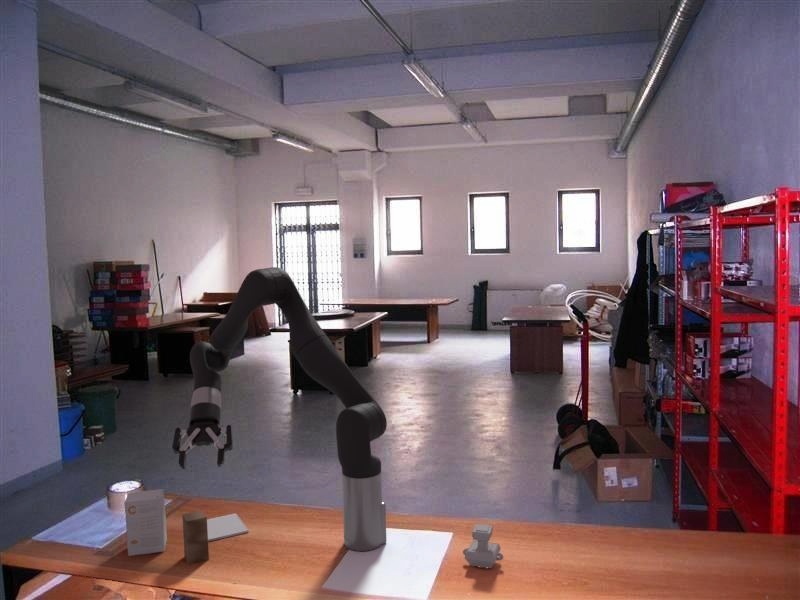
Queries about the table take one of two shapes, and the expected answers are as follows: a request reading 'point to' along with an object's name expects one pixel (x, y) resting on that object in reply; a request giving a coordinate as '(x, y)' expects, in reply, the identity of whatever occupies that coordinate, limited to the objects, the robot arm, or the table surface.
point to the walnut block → (195, 537)
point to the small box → (145, 522)
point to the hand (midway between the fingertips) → (201, 466)
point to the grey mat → (225, 527)
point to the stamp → (482, 547)
